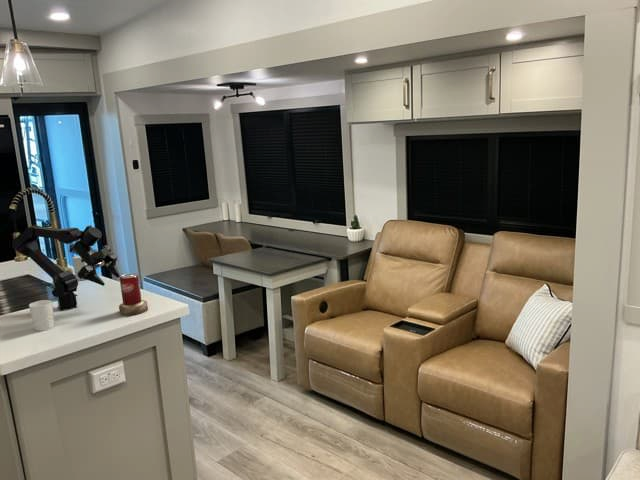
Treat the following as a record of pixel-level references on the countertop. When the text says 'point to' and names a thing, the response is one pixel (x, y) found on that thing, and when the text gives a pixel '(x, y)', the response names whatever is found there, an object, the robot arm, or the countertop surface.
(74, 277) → the robot arm
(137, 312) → the pedestal
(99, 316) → the countertop surface
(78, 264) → the skincare box
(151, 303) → the countertop surface
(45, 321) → the white cup
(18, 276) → the countertop surface
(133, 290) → the soda can
